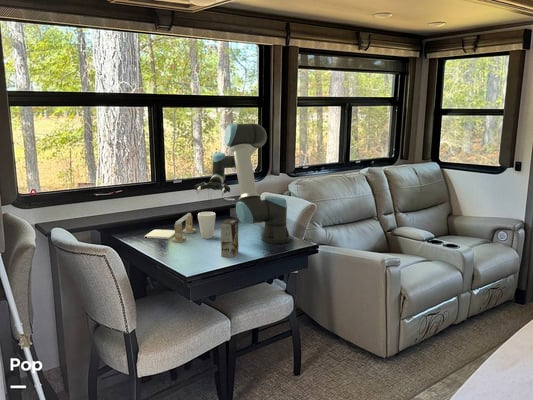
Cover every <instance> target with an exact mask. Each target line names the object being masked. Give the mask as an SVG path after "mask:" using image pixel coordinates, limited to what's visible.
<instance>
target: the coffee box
mask: <svg viewBox="0 0 533 400" xmlns="http://www.w3.org/2000/svg"><path fill="white" fill-rule="evenodd" d="M220 245H221V246H220V248H221V249H220V250H221V252H220V253H221V255H220V256H221V257H226V258H227V257H228V258H234V257H236V256H237V254H238V253H239V219H225V220H224V221H223V222H221V223H220Z"/></svg>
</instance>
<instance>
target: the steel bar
mask: <svg viewBox="0 0 533 400" xmlns="http://www.w3.org/2000/svg"><path fill="white" fill-rule="evenodd" d="M190 216H192V213H191V212H188V213H186V214H185V215H183V216H182V217H181V218H179V219H178V220H176V221H175V223H174V224H176V225H179V224H180V223H182V224H183V222H184V221H186V219H187V218H189V217H190Z"/></svg>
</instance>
